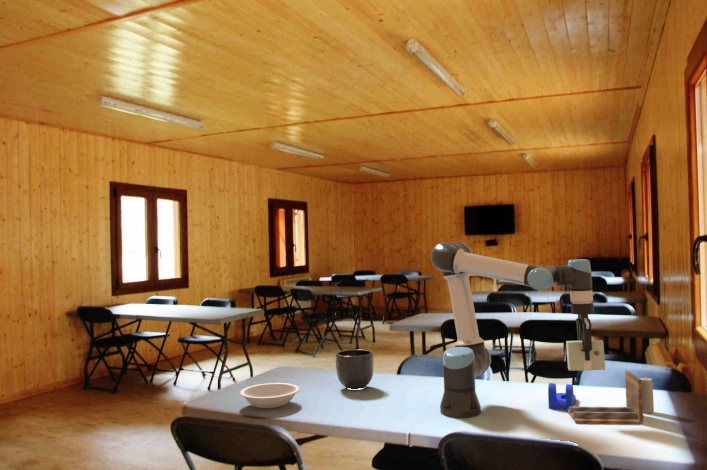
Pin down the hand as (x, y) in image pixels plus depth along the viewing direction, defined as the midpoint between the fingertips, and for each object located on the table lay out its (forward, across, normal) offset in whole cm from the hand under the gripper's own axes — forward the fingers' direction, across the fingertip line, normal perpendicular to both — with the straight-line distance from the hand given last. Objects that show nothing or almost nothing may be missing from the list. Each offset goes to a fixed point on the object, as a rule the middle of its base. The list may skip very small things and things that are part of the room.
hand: (586, 368), depth 204 cm
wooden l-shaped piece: (+18, +1, -5) cm, 18 cm away
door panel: (0, 0, 0) cm, 0 cm away
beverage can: (+18, +9, -22) cm, 30 cm away
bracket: (+18, +19, +6) cm, 26 cm away
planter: (+15, +38, +91) cm, 100 cm away
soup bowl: (+15, +8, +121) cm, 122 cm away
